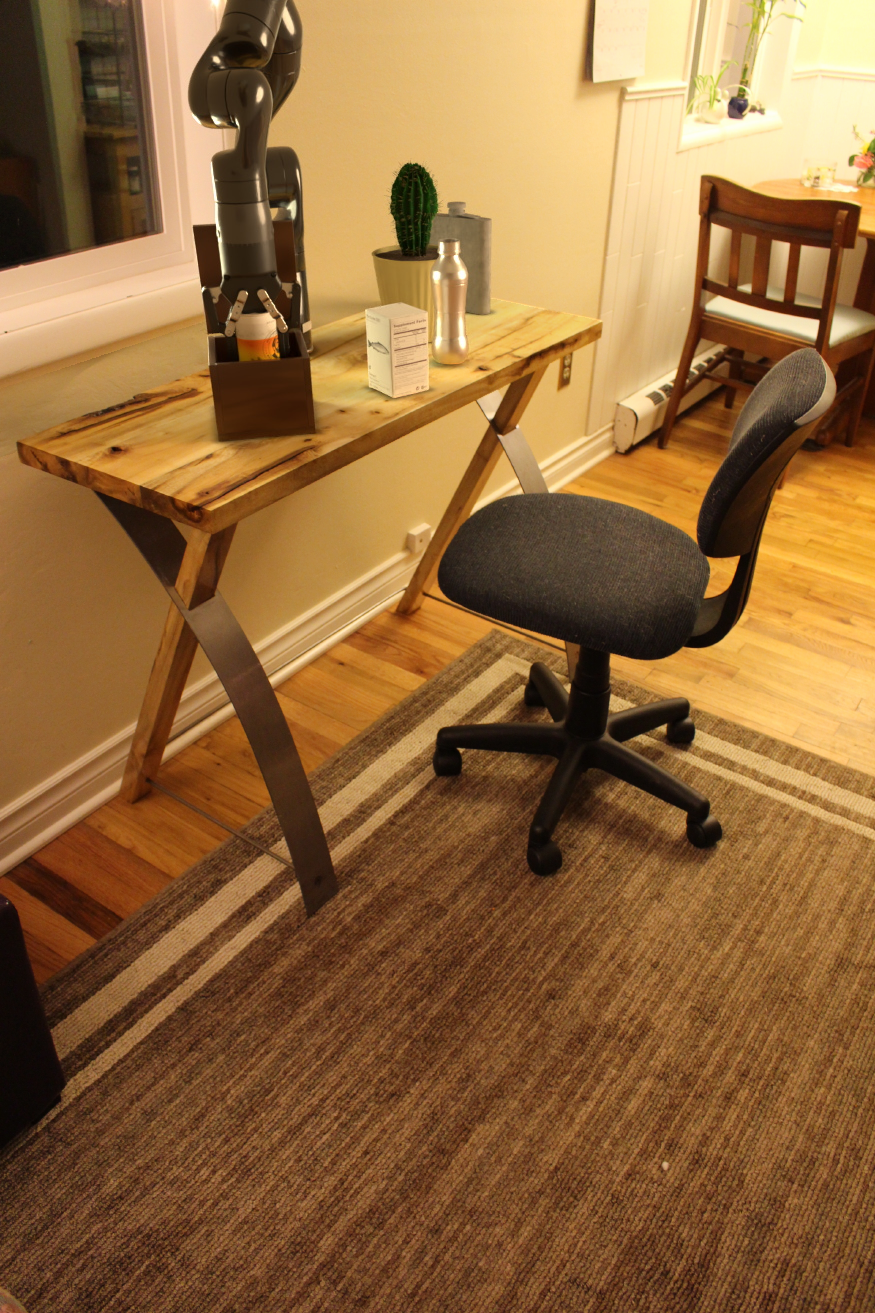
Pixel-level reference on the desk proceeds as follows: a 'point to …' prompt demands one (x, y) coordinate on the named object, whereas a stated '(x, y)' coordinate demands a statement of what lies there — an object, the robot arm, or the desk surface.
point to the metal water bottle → (449, 304)
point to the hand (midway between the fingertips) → (259, 358)
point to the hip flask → (469, 251)
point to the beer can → (257, 337)
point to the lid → (212, 268)
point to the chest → (262, 392)
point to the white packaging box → (397, 349)
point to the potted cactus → (410, 243)
